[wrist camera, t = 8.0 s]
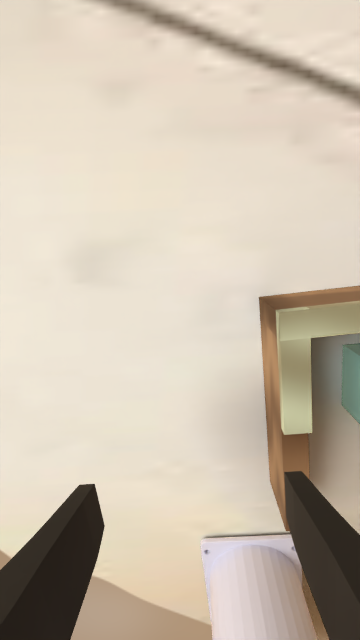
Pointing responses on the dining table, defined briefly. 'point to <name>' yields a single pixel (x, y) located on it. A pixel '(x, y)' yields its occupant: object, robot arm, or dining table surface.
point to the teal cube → (351, 380)
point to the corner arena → (297, 370)
